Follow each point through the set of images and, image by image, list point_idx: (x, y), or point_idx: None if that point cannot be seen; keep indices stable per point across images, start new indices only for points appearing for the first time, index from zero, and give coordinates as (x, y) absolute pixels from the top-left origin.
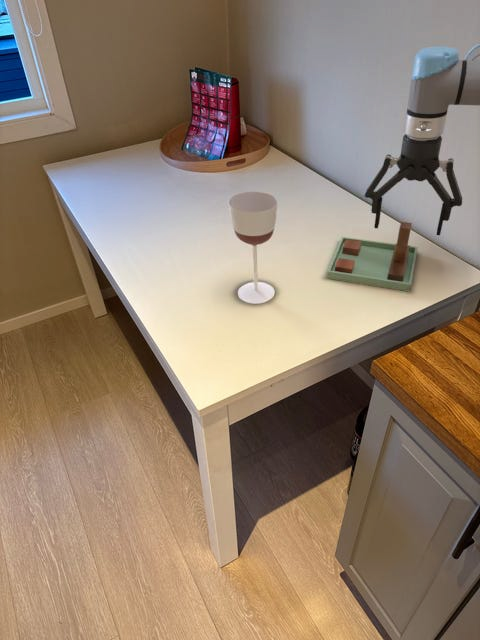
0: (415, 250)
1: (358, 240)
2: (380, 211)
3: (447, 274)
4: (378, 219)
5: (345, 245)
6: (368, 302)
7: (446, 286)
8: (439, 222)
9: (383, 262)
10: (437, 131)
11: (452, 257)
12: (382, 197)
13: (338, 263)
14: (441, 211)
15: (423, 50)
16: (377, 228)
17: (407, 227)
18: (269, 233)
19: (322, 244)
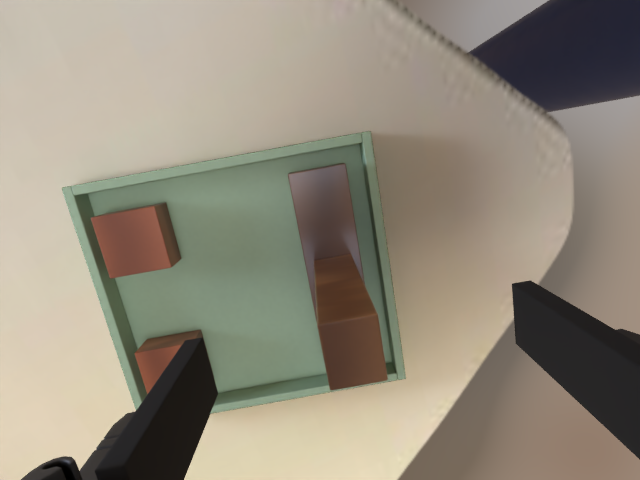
0: (368, 164)
1: (136, 183)
2: (178, 403)
3: (490, 221)
4: (201, 432)
5: (112, 263)
6: (309, 454)
7: (495, 289)
8: (567, 389)
9: (278, 259)
10: None
11: (493, 98)
12: (124, 464)
13: (151, 384)
14: (629, 448)
15: None
16: (217, 394)
17: (368, 372)
18: None
19: (23, 225)
